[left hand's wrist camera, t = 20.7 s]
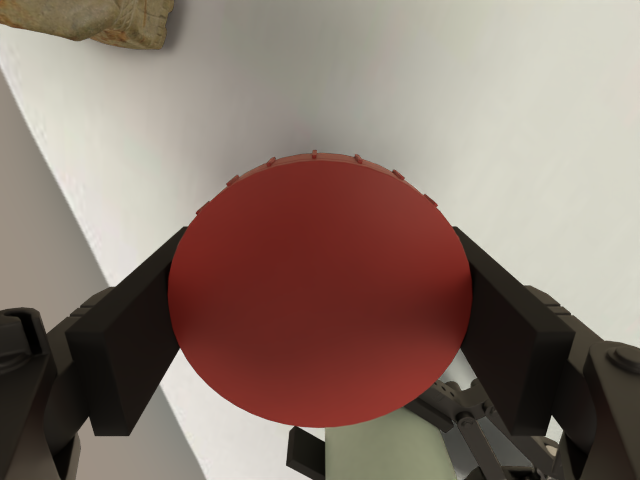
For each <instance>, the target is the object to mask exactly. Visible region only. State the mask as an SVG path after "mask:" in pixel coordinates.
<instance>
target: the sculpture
mask: <svg viewBox="0 0 640 480" xmlns="http://www.w3.org/2000/svg"><path fill="white" fill-rule="evenodd" d="M173 6H174V0H0V23H1V24H4V25H7V26H10V27H13V28H20V29H26V30H31V31H36V32H41V33H46V34H50V35H55V36H59V37H63V38H67V39H70V40H73V41H81V40H84V39H87V38H91V39H93V40H96V41H99V42H101V43H104V44H108V45H113V46H117V47H124V48H131V49H161V48H162V46H163V44H164V41H165V38H166V34H167V30H166V28H165V24H166V21H167V17H168V13H169V12H172V10H173Z"/></svg>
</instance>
